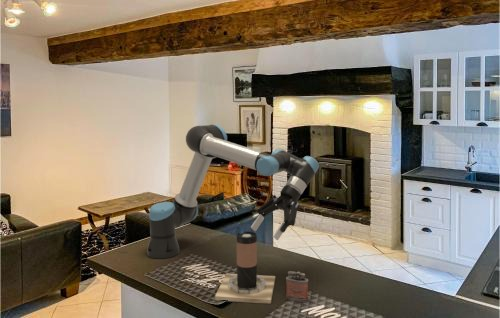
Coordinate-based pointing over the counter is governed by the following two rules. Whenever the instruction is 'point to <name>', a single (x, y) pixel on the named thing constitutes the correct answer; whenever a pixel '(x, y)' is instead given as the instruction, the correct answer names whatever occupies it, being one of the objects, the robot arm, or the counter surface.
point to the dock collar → (246, 290)
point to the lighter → (297, 287)
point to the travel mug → (246, 259)
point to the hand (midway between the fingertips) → (263, 233)
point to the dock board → (259, 297)
